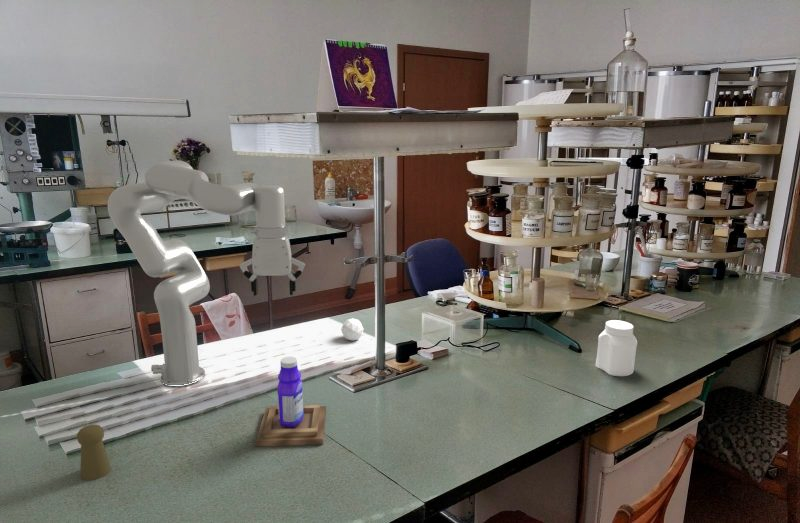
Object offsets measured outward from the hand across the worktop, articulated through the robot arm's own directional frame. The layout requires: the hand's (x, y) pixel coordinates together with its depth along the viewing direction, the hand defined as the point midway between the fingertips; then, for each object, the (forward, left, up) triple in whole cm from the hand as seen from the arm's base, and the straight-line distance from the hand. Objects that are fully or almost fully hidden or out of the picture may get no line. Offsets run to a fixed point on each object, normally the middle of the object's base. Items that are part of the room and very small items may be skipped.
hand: (274, 293), depth 155 cm
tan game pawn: (-36, -34, -31) cm, 58 cm away
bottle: (+6, -18, -29) cm, 35 cm away
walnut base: (+6, -18, -30) cm, 36 cm away
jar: (+105, +12, -31) cm, 110 cm away
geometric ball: (+21, +40, -31) cm, 55 cm away
